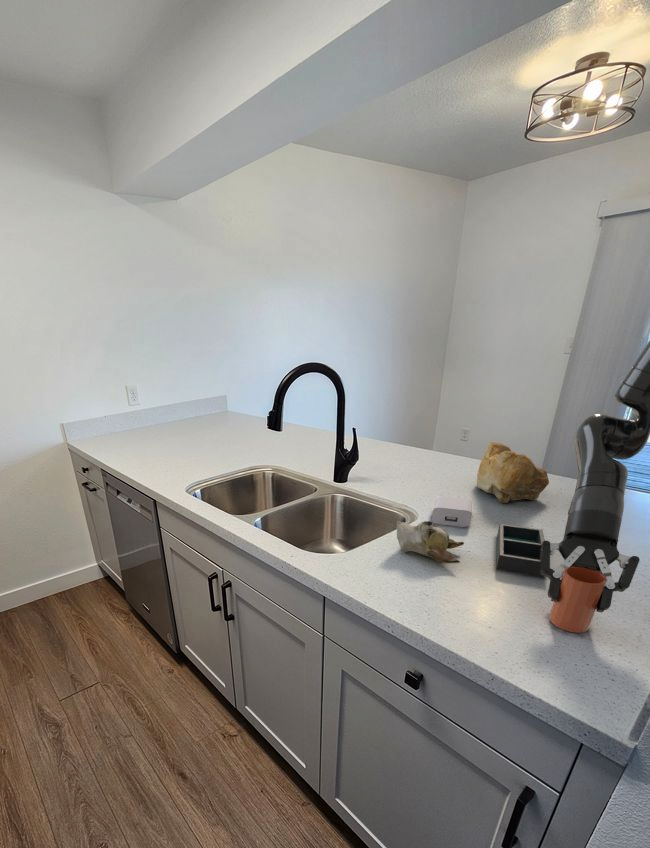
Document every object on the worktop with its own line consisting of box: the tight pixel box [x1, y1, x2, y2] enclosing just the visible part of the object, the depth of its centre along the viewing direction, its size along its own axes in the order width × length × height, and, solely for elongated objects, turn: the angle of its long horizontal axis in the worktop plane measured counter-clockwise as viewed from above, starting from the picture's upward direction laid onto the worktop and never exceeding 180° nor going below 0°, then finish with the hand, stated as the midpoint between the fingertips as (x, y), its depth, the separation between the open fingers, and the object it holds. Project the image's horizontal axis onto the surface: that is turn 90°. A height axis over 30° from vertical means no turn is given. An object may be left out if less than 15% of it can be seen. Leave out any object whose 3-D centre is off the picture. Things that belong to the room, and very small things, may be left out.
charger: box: [431, 495, 473, 528], centre depth 120 cm, size 5×9×15 cm
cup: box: [548, 566, 607, 634], centre depth 75 cm, size 6×6×10 cm
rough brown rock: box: [476, 441, 550, 504], centre depth 127 cm, size 23×17×15 cm
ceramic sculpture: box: [396, 520, 465, 564], centre depth 100 cm, size 11×9×15 cm
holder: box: [495, 523, 546, 579], centre depth 99 cm, size 9×17×4 cm, turn 152°
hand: (576, 605), depth 74 cm, fingers closed on cup, 6 cm apart
